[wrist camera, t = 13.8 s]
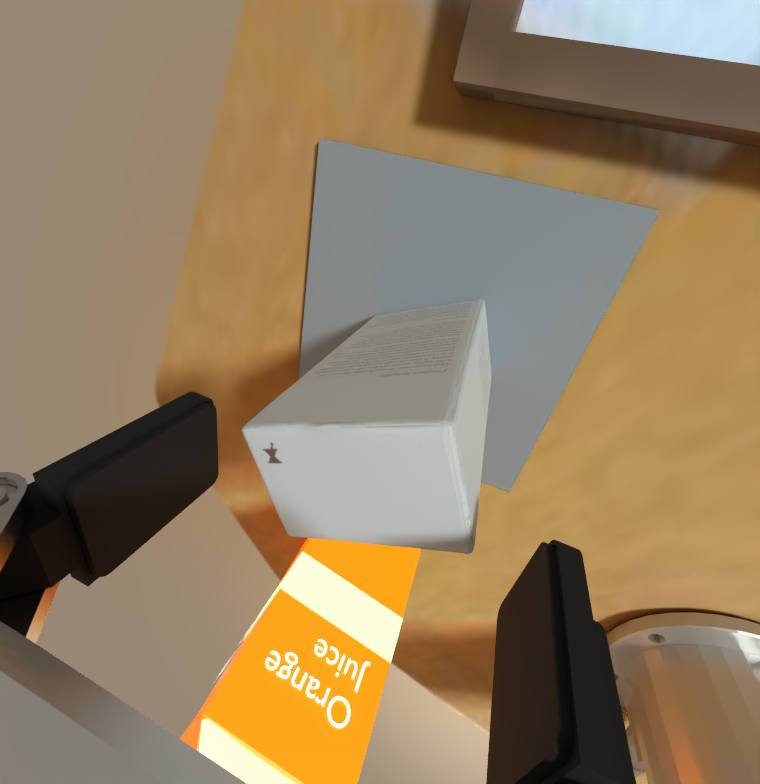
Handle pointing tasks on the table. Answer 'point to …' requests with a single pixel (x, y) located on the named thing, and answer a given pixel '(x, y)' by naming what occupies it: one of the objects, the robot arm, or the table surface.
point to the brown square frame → (605, 79)
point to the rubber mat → (468, 272)
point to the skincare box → (384, 434)
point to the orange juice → (310, 668)
